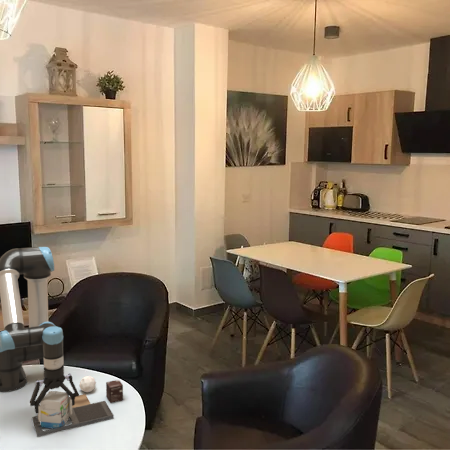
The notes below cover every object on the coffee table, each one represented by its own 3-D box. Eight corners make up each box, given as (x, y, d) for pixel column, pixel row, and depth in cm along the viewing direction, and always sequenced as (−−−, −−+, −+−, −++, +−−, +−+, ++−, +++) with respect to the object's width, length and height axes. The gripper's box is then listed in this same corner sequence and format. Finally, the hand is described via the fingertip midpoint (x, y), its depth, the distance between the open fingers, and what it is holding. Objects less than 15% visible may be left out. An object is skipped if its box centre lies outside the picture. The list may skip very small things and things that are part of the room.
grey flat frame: (37, 436, 195) (37, 433, 194) (32, 420, 206) (32, 416, 206) (113, 418, 209) (113, 414, 209) (105, 403, 220) (105, 400, 220)
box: (109, 403, 221) (109, 387, 219) (106, 397, 226) (105, 382, 225) (123, 400, 224) (123, 385, 222) (119, 394, 229) (119, 379, 228)
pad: (62, 400, 222) (62, 398, 222) (85, 395, 226) (85, 393, 226) (67, 411, 213) (67, 409, 213) (90, 406, 218) (90, 404, 218)
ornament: (97, 393, 229) (88, 383, 224) (83, 397, 231) (74, 387, 226) (100, 379, 234) (91, 370, 230) (86, 383, 236) (77, 374, 231)
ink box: (60, 429, 199) (59, 402, 198) (40, 427, 201) (39, 400, 199) (70, 418, 208) (69, 391, 206) (51, 416, 209) (49, 390, 207)
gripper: (23, 375, 191) (25, 428, 195) (86, 364, 202) (87, 414, 206) (20, 367, 198) (22, 418, 201) (81, 356, 209) (82, 405, 213)
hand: (55, 416), depth 204 cm, fingers closed on ink box, 11 cm apart
